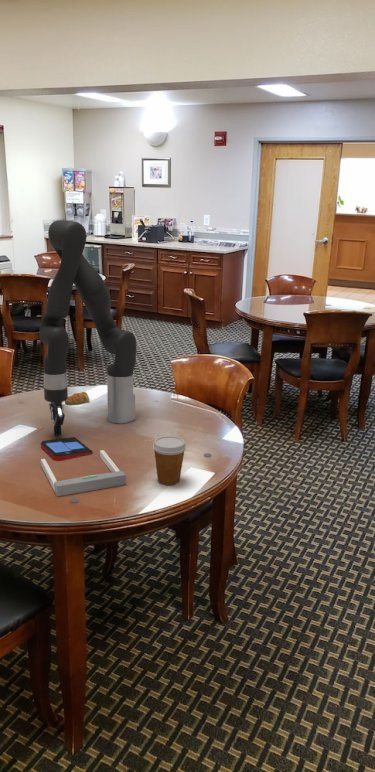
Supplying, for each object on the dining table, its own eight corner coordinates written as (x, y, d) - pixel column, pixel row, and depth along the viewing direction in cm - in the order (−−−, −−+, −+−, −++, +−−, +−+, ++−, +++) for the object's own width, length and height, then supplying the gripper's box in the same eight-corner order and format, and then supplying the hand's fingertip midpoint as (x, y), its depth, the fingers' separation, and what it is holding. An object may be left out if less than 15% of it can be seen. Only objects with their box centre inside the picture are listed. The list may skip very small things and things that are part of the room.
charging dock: (103, 455, 186) (103, 445, 185) (125, 484, 168) (125, 473, 167) (41, 465, 178) (40, 455, 177) (57, 496, 160) (56, 485, 159)
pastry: (70, 407, 228) (70, 398, 227) (61, 403, 233) (60, 393, 232) (91, 402, 235) (90, 393, 233) (81, 398, 239) (81, 389, 238)
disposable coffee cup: (151, 473, 175) (152, 435, 172) (183, 473, 176) (185, 435, 172) (152, 488, 166) (153, 448, 163) (186, 487, 167) (187, 448, 163)
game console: (93, 455, 188) (93, 448, 187) (55, 463, 181) (54, 456, 180) (75, 439, 199) (75, 433, 198) (38, 447, 192) (38, 440, 192)
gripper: (72, 390, 190) (73, 440, 195) (62, 378, 201) (64, 426, 206) (48, 392, 187) (50, 443, 192) (40, 381, 198) (42, 429, 203)
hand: (57, 434), depth 199 cm, fingers closed
